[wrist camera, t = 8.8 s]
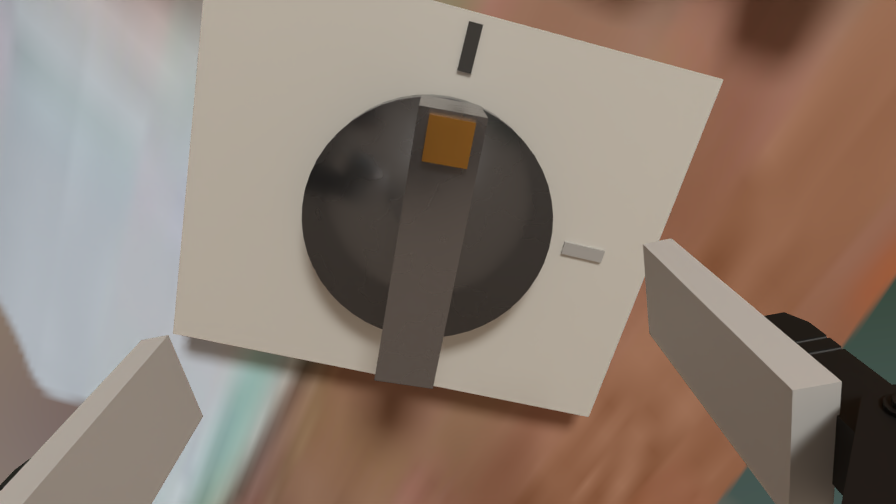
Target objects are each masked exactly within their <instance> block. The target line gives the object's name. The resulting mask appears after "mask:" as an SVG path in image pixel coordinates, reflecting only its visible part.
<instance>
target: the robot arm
mask: <svg viewBox="0 0 896 504" xmlns="http://www.w3.org/2000/svg"><path fill="white" fill-rule="evenodd" d="M643 253H644V267H645V281H646V294H647V308H648V321H649V334H650V335H651V336H652V338H653V339H654V340H655V342H656V343H657V344H658V346H659V347H660V348H661V350H662V351H663V352H664V354H665V355H666V356H667V358H668V359H669V361H670V362H671V363H672V365H673V366H674V367H675V369H676V370H677V371H678V373H679V374H680V375H681V377H682V378H683V379H684V381H685V382H686V384H687V385H688V386H689V388H690V389H691V390H692V392H693V393H694V394H695V396H696V397H697V398H698V400H699V401H700V402H701V404H702V405H703V406H704V408H705V409H706V411H707V412H708V413H709V415H710V416H711V417H712V419H713V420H714V421H715V423H716V424H717V425H718V427H719V428H720V429H721V431H722V432H723V433H724V435H725V436H726V438H727V439H728V440H729V442H730V443H731V444H732V446H733V447H734V448H735V450H736V451H737V452H738V454H739V455H740V456H741V458H742V459H743V460H744V462H745V463H746V465H747V466H748V467H749V469H750V470H751V471H752V472H753V474H754V475H755V477H756V478H757V479H758V481H759V482H760V483H761V485H762V486H763V487H764V489H765V490H766V491H767V493H768V494H769V495H770V497H771V498H772V500H773V501H774V502H775V503H776V504H833V502H834V487H836V489H837V490H838V491H839V492H840V493H841V494H842V495H843V500H842V504H896V385H891V384H890V383H889V382H887V381H886V380H885V379H883V378H882V377H881V376H880V375H878V374H877V373H876V372H874V371H873V370H872V369H870V368H869V367H868V366H866V365H865V364H864V363H862V362H861V361H860V360H858V359H857V358H856V357H854V356H853V355H852V354H850V353H849V352H848V351H846V350H845V349H841V346H840V345H839V344H837V343H836V342H835V341H833V340H832V339H831V338H827V337H826V335H825V334H824V333H823V332H821V331H820V330H819V329H817V328H816V327H815V326H813V325H812V324H811V323H809V322H807V321H805V320H802V319H800V318H797V317H795V316H792V315H789V314H787V313H784V312H783V313H778V314H772V315H767V316H763V315H762V314H761V313H760V312H758V311H757V310H756V309H755V308H754V307H752V306H751V305H750V304H749V303H748V302H746V301H745V300H744V299H743V298H742V297H741V296H739V295H738V294H737V293H736V292H735V291H733V290H732V289H731V288H730V287H729V286H727V285H726V284H725V283H724V282H723V281H721V280H720V279H719V278H718V277H717V276H715V275H714V274H713V273H712V272H711V271H710V270H708V269H707V268H706V267H705V266H704V265H702V264H701V263H700V262H699V261H698V260H696V259H695V258H694V257H693V256H692V255H690V254H689V253H688V252H687V251H686V250H685V249H683V248H682V247H681V246H680V245H679V244H677V243H676V242H675V241H674V240H673V239H667V240H661V241H656V242H651V243H646V244H643ZM202 417H203V415H202V413H201V411H200V408H199V406H198V404H197V401H196V399H195V397H194V394H193V392H192V389H191V387H190V385H189V382H188V380H187V378H186V375H185V373H184V371H183V368H182V366H181V364H180V361H179V359H178V357H177V354H176V352H175V350H174V347H173V345H172V343H171V340H170V338H169V336H168V335H166V336H161V337H156V338H151V339H145V340H141V341H140V342H139V343H138V345H137V346H136V347H135V348H134V349H133V350H132V351H131V352H130V353H129V354H128V355H127V356H126V357H125V358H124V359H123V361H122V362H121V363H120V364H119V365H118V366H117V367H116V368H115V369H114V370H113V371H112V372H111V373H110V374H109V376H108V377H107V378H106V379H105V380H104V381H103V382H102V383H101V384H100V385H99V386H98V387H97V388H96V389H95V390H94V392H93V393H92V394H91V395H90V396H89V397H88V398H87V399H86V400H85V401H84V402H83V403H82V404H81V405H80V407H79V408H78V409H77V410H76V411H75V412H74V413H73V414H72V415H71V416H70V417H69V418H68V419H67V420H66V421H65V423H64V424H63V425H62V426H61V427H60V428H59V429H58V430H57V431H56V432H55V433H54V434H53V435H52V436H51V438H50V439H49V440H48V441H47V442H46V443H45V444H44V445H43V446H42V447H41V448H40V449H39V450H38V451H37V453H36V454H35V455H34V456H33V457H32V458H30V459H29V460H27V461H26V462H25V463H23V464H22V465H21V466H19V467H18V468H17V469H15V470H14V471H13V472H12V473H11V474H10V475H9V477H8V478H7V479H6V480H5V481H4V482H3V483H2V484H1V485H0V504H152V502H153V500H154V499H155V497H156V495H157V494H158V492H159V490H160V488H161V487H162V485H163V483H164V482H165V480H166V478H167V477H168V475H169V473H170V471H171V470H172V468H173V466H174V465H175V463H176V461H177V460H178V458H179V456H180V454H181V453H182V451H183V449H184V448H185V446H186V444H187V443H188V441H189V439H190V437H191V436H192V434H193V432H194V431H195V429H196V427H197V426H198V424H199V422H200V420H201V419H202Z"/></svg>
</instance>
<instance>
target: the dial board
mask: <svg viewBox="0 0 896 504" xmlns="http://www.w3.org/2000/svg"><path fill="white" fill-rule="evenodd" d="M722 82H723V79H720V78H716V77H712V76H709V75H705V74H701V73H698V72H694V71H690V70H687V69H683V68H679V67H676V66H672V65H668V64H665V63H661V62H657V61H654V60H650V59H646V58H643V57H639V56H635V55H632V54H628V53H624V52H621V51H617V50H613V49H610V48H606V47H602V46H599V45H595V44H591V43H588V42H584V41H580V40H576V39H573V38H569V37H565V36H562V35H558V34H554V33H551V32H547V31H543V30H540V29H536V28H532V27H529V26H525V25H521V24H518V23H514V22H510V21H507V20H503V19H499V18H496V17H492V16H488V15H485V14H481V13H477V12H474V11H470V10H466V9H463V8H459V7H455V6H452V5H448V4H444V3H441V2H437V1H433V0H203V9H202V20H201V31H200V42H199V53H198V64H197V75H196V86H195V97H194V108H193V119H192V130H191V142H190V153H189V164H188V175H187V186H186V197H185V208H184V219H183V230H182V241H181V252H180V263H179V274H178V285H177V296H176V307H175V319H174V330H173V334H178V335H183V336H188V337H193V338H198V339H202V340H207V341H212V342H217V343H222V344H227V345H232V346H237V347H242V348H247V349H252V350H257V351H262V352H267V353H272V354H277V355H282V356H287V357H292V358H297V359H302V360H307V361H312V362H317V363H322V364H327V365H332V366H337V367H342V368H347V369H352V370H357V371H362V372H367V373H372V374H375V373H376V367H377V360H378V354H379V348H380V342H381V336H382V330H383V329H380V328H378V327H375V326H373V325H371V324H369V323H367V322H365V321H363V320H362V319H360V318H359V317H357V316H355V315H354V314H352V313H351V312H350V311H349V310H347V309H346V308H345V307H344V306H342V305H341V304H340V303H339V302H338V301H337V300H336V299H335V298H334V297H333V296H332V295H331V294H330V293H329V291H328V290H327V288H326V287H325V286H324V284H323V283H322V282H321V280H320V279H319V277H318V275H317V273H316V271H315V270H314V268H313V266H312V263H311V261H310V258H309V256H308V253H307V250H306V246H305V242H304V238H303V230H302V203H303V197H304V191H305V188H306V184H307V181H308V178H309V175H310V173H311V171H312V169H313V167H314V164H315V162H316V160H317V159H318V157H319V156H320V154H321V153H322V151H323V150H324V148H325V147H326V145H327V144H328V143H329V142H330V141H331V140H332V139H333V138H334V136H335V135H336V134H337V133H338V132H339V131H340V130H341V129H342V128H343V127H345V126H346V125H347V124H348V123H349V122H351V121H352V120H353V119H354V118H355V117H357V116H358V115H360V114H362V113H363V112H365V111H366V110H368V109H370V108H372V107H374V106H376V105H379V104H381V103H383V102H386V101H389V100H393V99H396V98H399V97H405V96H412V95H430V94H434V95H442V96H450V97H454V98H458V99H462V100H466V101H468V102H471V103H473V104H476V105H480V106H481V107H483V108H484V109H486V110H488V111H490V112H491V113H493V114H495V115H496V116H498V117H499V118H500V119H501V120H503V121H504V122H505V123H507V124H508V125H509V126H510V127H511V128H512V129H513V130H514V131H515V132H516V133H517V134H518V135H519V136H520V137H521V139H522V140H523V141H524V142H525V143H526V145H527V146H528V147H529V149H530V150H531V151H532V153H533V154H534V155H535V157H536V159H537V161H538V163H539V165H540V166H541V168H542V170H543V173H544V175H545V178H546V181H547V183H548V186H549V191H550V195H551V200H552V209H553V229H552V237H551V242H550V247H549V250H548V253H547V256H546V259H545V262H544V264H543V266H542V268H541V270H540V272H539V274H538V276H537V278H536V279H535V281H534V282H533V284H532V285H531V287H530V288H529V290H528V291H527V292H526V293H525V294H524V295H523V297H522V298H521V299H520V300H519V301H518V302H517V303H516V304H514V305H513V306H512V307H511V308H510V309H509V310H508V311H506V312H505V313H503V314H502V315H501V316H499V317H498V318H496V319H495V320H493V321H491V322H489V323H487V324H485V325H483V326H481V327H478V328H476V329H473V330H471V331H468V332H464V333H460V334H456V335H452V336H444V337H443V342H442V346H441V351H440V356H439V361H438V366H437V371H436V376H435V381H434V385H433V386H437V387H442V388H447V389H452V390H457V391H462V392H467V393H472V394H477V395H482V396H487V397H491V398H496V399H501V400H506V401H511V402H516V403H521V404H526V405H531V406H536V407H541V408H546V409H551V410H556V411H561V412H566V413H571V414H576V415H581V416H586V417H589V414H590V412H591V409H592V407H593V404H594V402H595V399H596V397H597V394H598V392H599V389H600V387H601V384H602V382H603V380H604V377H605V375H606V372H607V370H608V367H609V365H610V362H611V360H612V357H613V355H614V352H615V350H616V347H617V345H618V342H619V340H620V337H621V335H622V332H623V330H624V327H625V325H626V322H627V320H628V317H629V315H630V312H631V310H632V307H633V305H634V302H635V300H636V297H637V295H638V292H639V290H640V287H641V285H642V282H643V280H644V277H645V267H644V253H643V244H646V243H651V242H656V241H659V240H660V237H661V235H662V232H663V230H664V227H665V225H666V222H667V220H668V217H669V215H670V212H671V210H672V207H673V205H674V202H675V200H676V197H677V195H678V192H679V190H680V187H681V185H682V182H683V180H684V177H685V175H686V172H687V170H688V167H689V165H690V162H691V160H692V157H693V155H694V152H695V150H696V147H697V145H698V142H699V140H700V137H701V135H702V132H703V130H704V127H705V125H706V122H707V120H708V117H709V115H710V112H711V110H712V107H713V105H714V102H715V100H716V97H717V95H718V92H719V90H720V87H721V85H722Z"/></svg>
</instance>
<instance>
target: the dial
mask: <svg viewBox="0 0 896 504" xmlns="http://www.w3.org/2000/svg"><path fill="white" fill-rule="evenodd" d="M552 229H553V209H552V200H551V195H550V191H549V186H548V183H547V181H546V178H545V175H544V173H543V170H542V168H541V166H540V165H539V163H538V161H537V159H536V157H535V155H534V154H533V153H532V151H531V150H530V149H529V147H528V146H527V145H526V143H525V142H524V141H523V140H522V139H521V137H520V136H519V135H518V134H517V133H516V132H515V131H514V130H513V129H512V128H511V127H510V126H509V125H508V124H507V123H505V122H504V121H503V120H501V119H500V118H499V117H498V116H496V115H495V114H493V113H491V112H490V111H488V110H486V109H484V108H483V107H481V106H480V105H476V104H473V103H471V102H468V101H466V100H462V99H458V98H454V97H450V96H442V95H434V94H430V95H412V96H405V97H399V98H396V99H393V100H389V101H386V102H383V103H381V104H379V105H376V106H374V107H372V108H370V109H368V110H366V111H365V112H363V113H362V114H360V115H358V116H357V117H355V118H354V119H353V120H352V121H351V122H349V123H348V124H347V125H346V126H345V127H343V128H342V129H341V130H340V131H339V132H338V133H337V134H336V135H335V136H334V138H333V139H332V140H331V141H330V142H329V143H328V144H327V145H326V147H325V148H324V150H323V151H322V153H321V154H320V156H319V157H318V159H317V160H316V162H315V164H314V167H313V169H312V171H311V173H310V175H309V178H308V181H307V184H306V188H305V191H304V197H303V203H302V230H303V238H304V242H305V246H306V250H307V253H308V256H309V258H310V261H311V263H312V266H313V268H314V270H315V271H316V273H317V275H318V277H319V279H320V280H321V282H322V283H323V284H324V286H325V287H326V288H327V290H328V291H329V293H330V294H331V295H332V296H333V297H334V298H335V299H336V300H337V301H338V302H339V303H340V304H341V305H342V306H344V307H345V308H346V309H347V310H349V311H350V312H351V313H352V314H354V315H355V316H357V317H359V318H360V319H362V320H363V321H365V322H367V323H369V324H371V325H373V326H375V327H378V328H380V329H383V330H382V336H381V342H380V348H379V354H378V360H377V367H376V373H375V379H374V380H376V381H383V382H390V383H396V384H403V385H410V386H417V387H424V388H431V389H433V385H434V381H435V376H436V371H437V366H438V361H439V356H440V351H441V346H442V342H443V337H444V336H452V335H456V334H460V333H464V332H468V331H471V330H473V329H476V328H478V327H481V326H483V325H485V324H487V323H489V322H491V321H493V320H495V319H496V318H498V317H499V316H501V315H502V314H503V313H505V312H506V311H508V310H509V309H510V308H511V307H512V306H513V305H514V304H516V303H517V302H518V301H519V300H520V299H521V298H522V297H523V295H524V294H525V293H526V292H527V291H528V290H529V288H530V287H531V285H532V284H533V282H534V281H535V279H536V278H537V276H538V274H539V272H540V270H541V268H542V266H543V264H544V262H545V259H546V256H547V253H548V250H549V247H550V242H551V237H552Z"/></svg>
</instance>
